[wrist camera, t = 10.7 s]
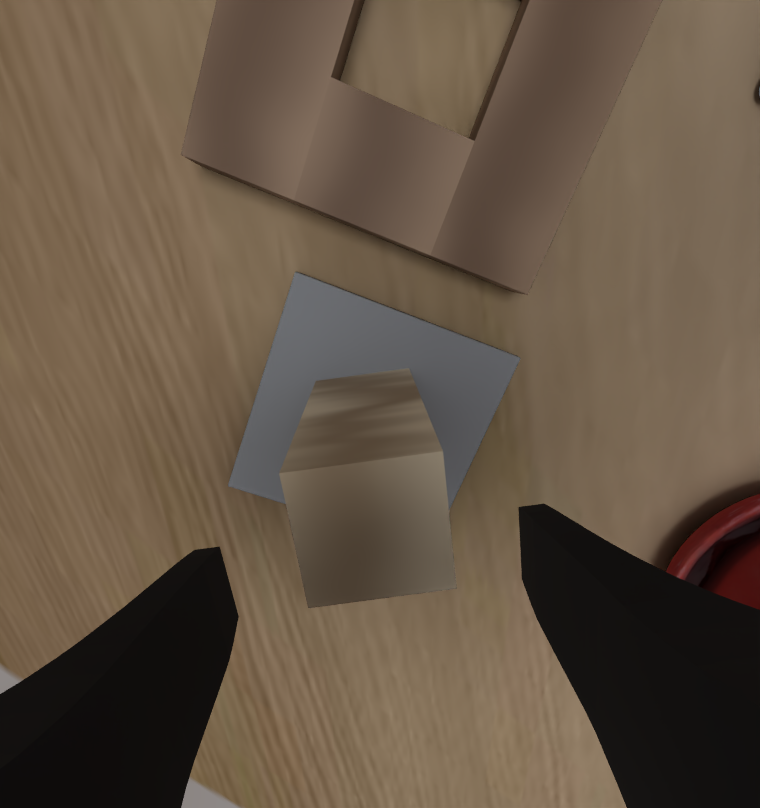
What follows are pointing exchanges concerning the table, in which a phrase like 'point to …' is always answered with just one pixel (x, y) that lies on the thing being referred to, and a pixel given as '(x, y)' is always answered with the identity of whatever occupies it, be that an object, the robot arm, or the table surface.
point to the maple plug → (368, 492)
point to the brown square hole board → (416, 128)
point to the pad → (363, 354)
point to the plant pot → (725, 554)
